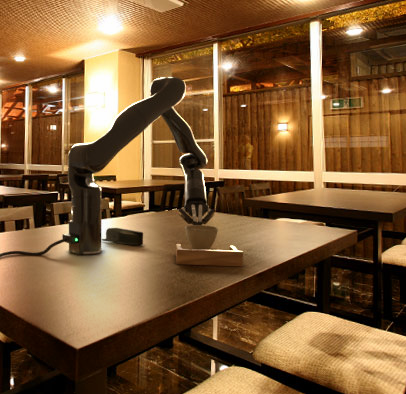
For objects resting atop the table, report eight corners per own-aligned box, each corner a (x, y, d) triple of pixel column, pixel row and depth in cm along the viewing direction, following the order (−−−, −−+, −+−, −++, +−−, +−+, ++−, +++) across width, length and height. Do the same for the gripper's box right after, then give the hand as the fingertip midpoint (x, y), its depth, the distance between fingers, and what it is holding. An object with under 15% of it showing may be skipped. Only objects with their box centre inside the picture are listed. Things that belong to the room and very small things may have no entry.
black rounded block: (144, 230, 132) (105, 225, 140) (140, 232, 129) (101, 227, 137) (143, 245, 132) (105, 239, 140) (140, 247, 130) (100, 241, 138)
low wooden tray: (242, 266, 105) (243, 251, 105) (176, 264, 108) (176, 249, 107) (234, 257, 115) (235, 243, 115) (174, 255, 118) (174, 242, 117)
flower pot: (218, 254, 120) (219, 230, 119) (185, 252, 122) (185, 229, 121) (215, 247, 129) (216, 225, 129) (184, 245, 131) (184, 224, 131)
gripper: (177, 186, 143) (178, 225, 132) (215, 187, 141) (219, 226, 130) (176, 200, 149) (177, 238, 138) (212, 200, 147) (216, 239, 136)
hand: (198, 232), depth 134 cm, fingers closed
